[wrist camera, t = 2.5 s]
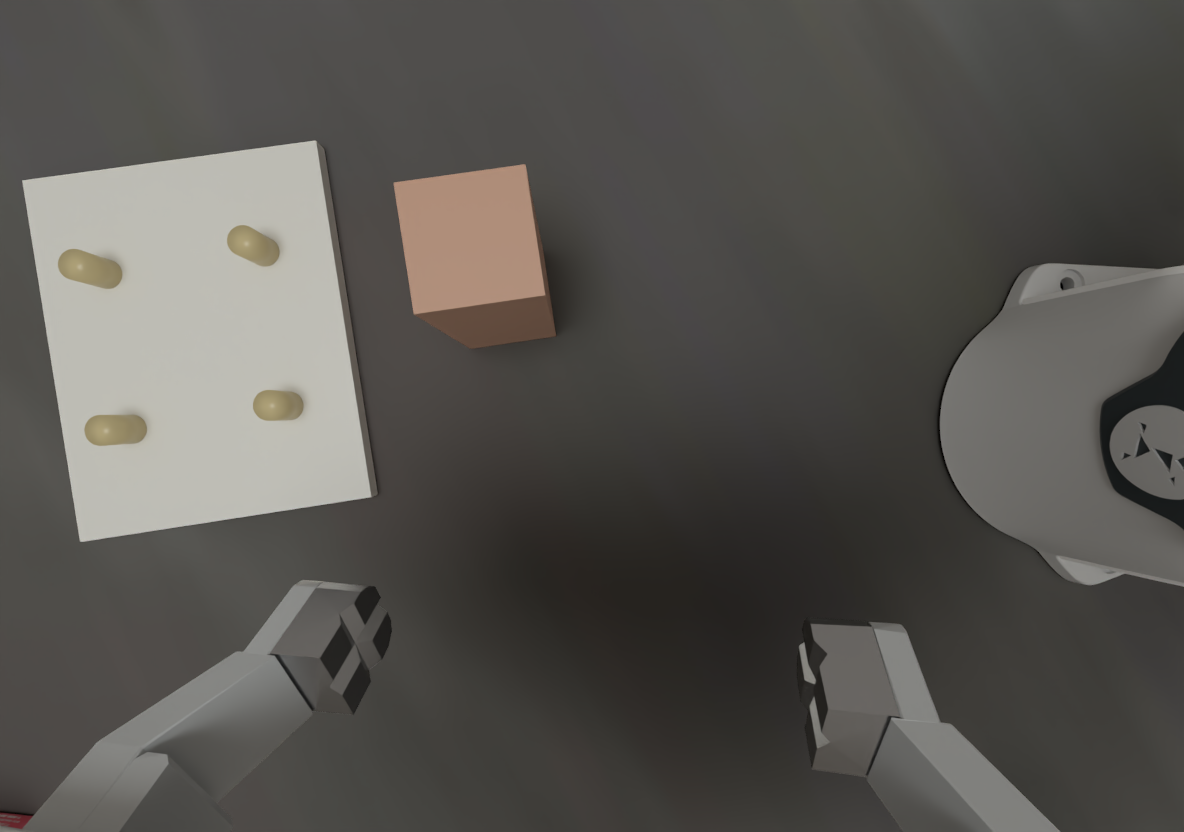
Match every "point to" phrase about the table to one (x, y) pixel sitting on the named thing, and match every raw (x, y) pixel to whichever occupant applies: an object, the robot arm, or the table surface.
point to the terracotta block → (476, 256)
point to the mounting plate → (200, 339)
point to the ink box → (14, 820)
